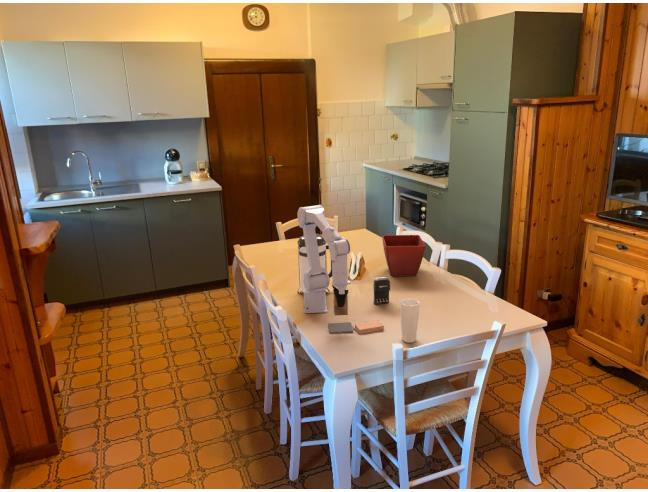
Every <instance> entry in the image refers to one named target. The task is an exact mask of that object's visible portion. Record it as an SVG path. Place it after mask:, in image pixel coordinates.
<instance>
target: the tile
mask: <svg viewBox="0 0 648 492" xmlns="http://www.w3.org/2000/svg"><path fill="white" fill-rule="evenodd" d="M384 329H385V325H384V324H383V323H382V322H381V321H380V320H379V319H378V320H373V321H367V322H360V323H354V330H355V331H357V333H359V335H360V334H365V333H371V332H375V331H376V332H377V331H383V330H384Z"/></svg>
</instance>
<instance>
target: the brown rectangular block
mask: <svg viewBox="0 0 648 492" xmlns="http://www.w3.org/2000/svg"><path fill="white" fill-rule="evenodd" d="M348 298H349V297H348V294H347V296H346V299H345V303H344V307H338V305H337V299H336V296H335V294H334V293H333V314H334V316H335V317H336V316H348V315H349V314H348V313H349V311H348V310H349V307H348V306H349V305H348V304H349V303H348V302H349V301H348V300H349V299H348Z"/></svg>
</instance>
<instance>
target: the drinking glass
mask: <svg viewBox="0 0 648 492" xmlns="http://www.w3.org/2000/svg"><path fill="white" fill-rule="evenodd" d="M399 312H400V326H401V327H400V328H401V340H402V341H403V342H404V343H407V344H408V343H414V342H416V341H417V335H418V334H417V333H418V328H419V327H418V325H419V320H420V319H419V318H420V301H419V300H417V299H415V298H404V299H402V300H401V301H400V309H399Z"/></svg>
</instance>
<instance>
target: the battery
mask: <svg viewBox="0 0 648 492" xmlns="http://www.w3.org/2000/svg"><path fill="white" fill-rule="evenodd" d="M372 286H373V287H372V288H373V289H372V290H373V303H374V304H375V305H384V304H385V305H386V304H389V303H390V291H391V280H390V278H389V277H387V276H381V277H380V276H379V277H375V278H374V279H373V285H372Z"/></svg>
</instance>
